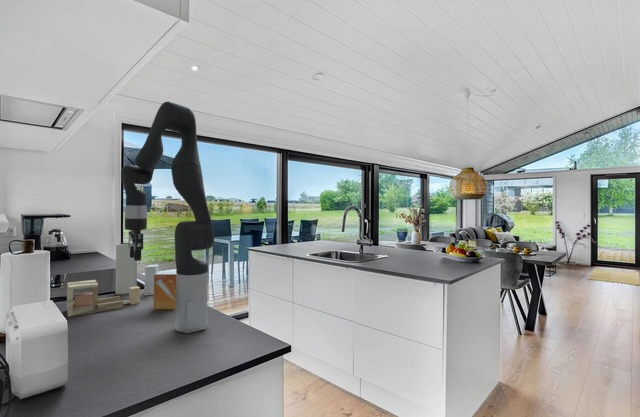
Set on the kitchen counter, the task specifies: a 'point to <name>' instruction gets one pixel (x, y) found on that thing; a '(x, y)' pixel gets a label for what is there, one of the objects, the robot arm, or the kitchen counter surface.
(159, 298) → the small box
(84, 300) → the tethered block
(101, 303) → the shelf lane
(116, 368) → the kitchen counter surface
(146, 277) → the skincare box
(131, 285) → the tall grey box
